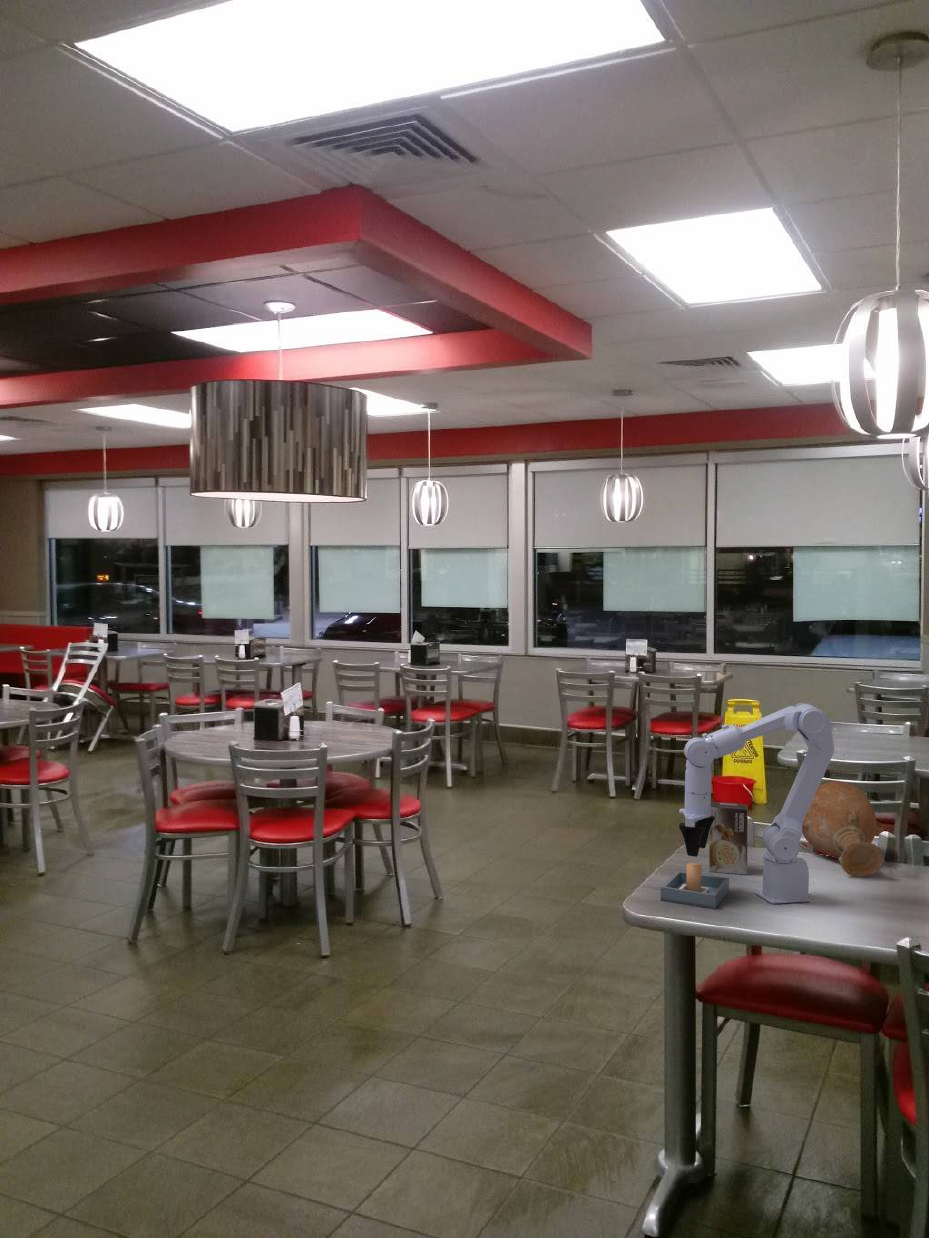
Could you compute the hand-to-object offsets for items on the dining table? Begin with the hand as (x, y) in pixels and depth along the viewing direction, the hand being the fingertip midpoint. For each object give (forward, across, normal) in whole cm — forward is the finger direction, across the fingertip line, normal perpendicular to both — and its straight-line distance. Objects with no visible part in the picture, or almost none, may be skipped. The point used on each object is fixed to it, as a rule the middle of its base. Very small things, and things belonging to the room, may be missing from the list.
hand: (696, 851), depth 232 cm
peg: (+9, +3, 0) cm, 10 cm away
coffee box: (+10, -23, +2) cm, 25 cm away
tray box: (+10, +1, 0) cm, 10 cm away
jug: (+10, -44, +26) cm, 53 cm away
